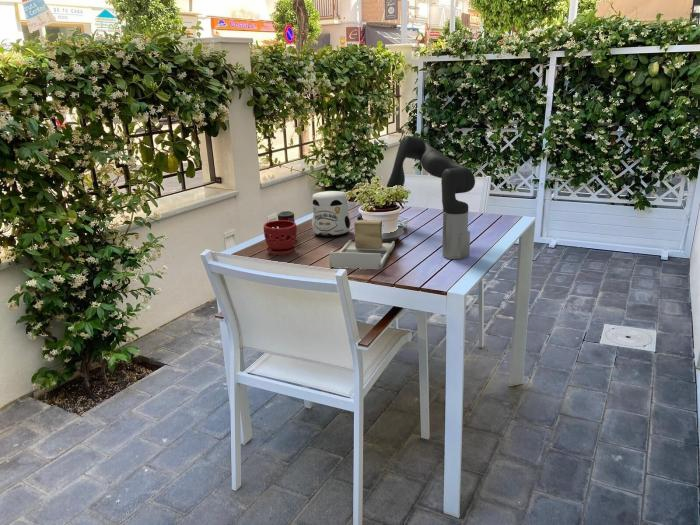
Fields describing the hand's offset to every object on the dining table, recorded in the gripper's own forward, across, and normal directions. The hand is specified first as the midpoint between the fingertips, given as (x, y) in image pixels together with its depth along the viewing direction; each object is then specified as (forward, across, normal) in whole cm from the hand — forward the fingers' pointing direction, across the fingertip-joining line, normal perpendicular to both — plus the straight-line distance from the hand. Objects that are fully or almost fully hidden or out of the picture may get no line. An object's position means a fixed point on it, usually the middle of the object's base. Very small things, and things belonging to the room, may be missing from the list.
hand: (371, 223), depth 221 cm
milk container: (-14, -21, +10) cm, 27 cm away
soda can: (-2, -38, +9) cm, 39 cm away
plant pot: (+15, -34, +9) cm, 38 cm away
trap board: (+16, 0, +9) cm, 18 cm away
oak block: (+7, 0, +8) cm, 10 cm away
